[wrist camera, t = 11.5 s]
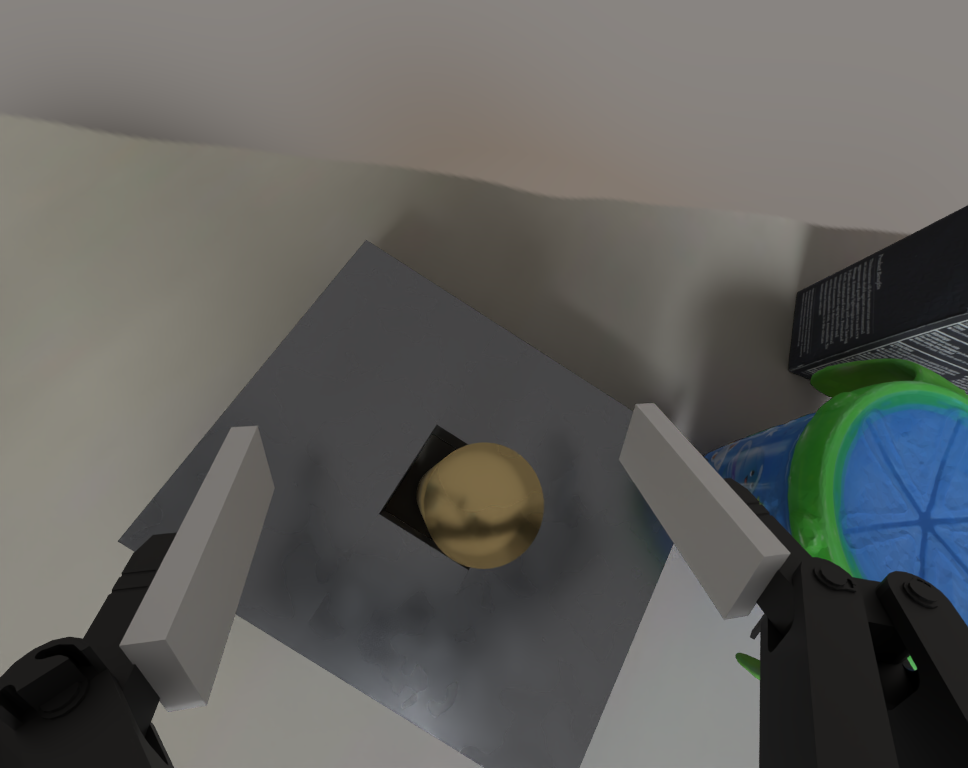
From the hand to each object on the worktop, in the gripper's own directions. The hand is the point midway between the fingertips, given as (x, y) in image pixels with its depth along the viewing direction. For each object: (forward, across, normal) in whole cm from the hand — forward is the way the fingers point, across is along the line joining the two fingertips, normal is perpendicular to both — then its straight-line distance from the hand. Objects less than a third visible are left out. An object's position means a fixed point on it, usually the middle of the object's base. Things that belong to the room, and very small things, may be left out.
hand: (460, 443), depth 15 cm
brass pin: (+4, 0, -7) cm, 8 cm away
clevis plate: (+4, 0, -7) cm, 8 cm away
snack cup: (+2, +17, -8) cm, 19 cm away
